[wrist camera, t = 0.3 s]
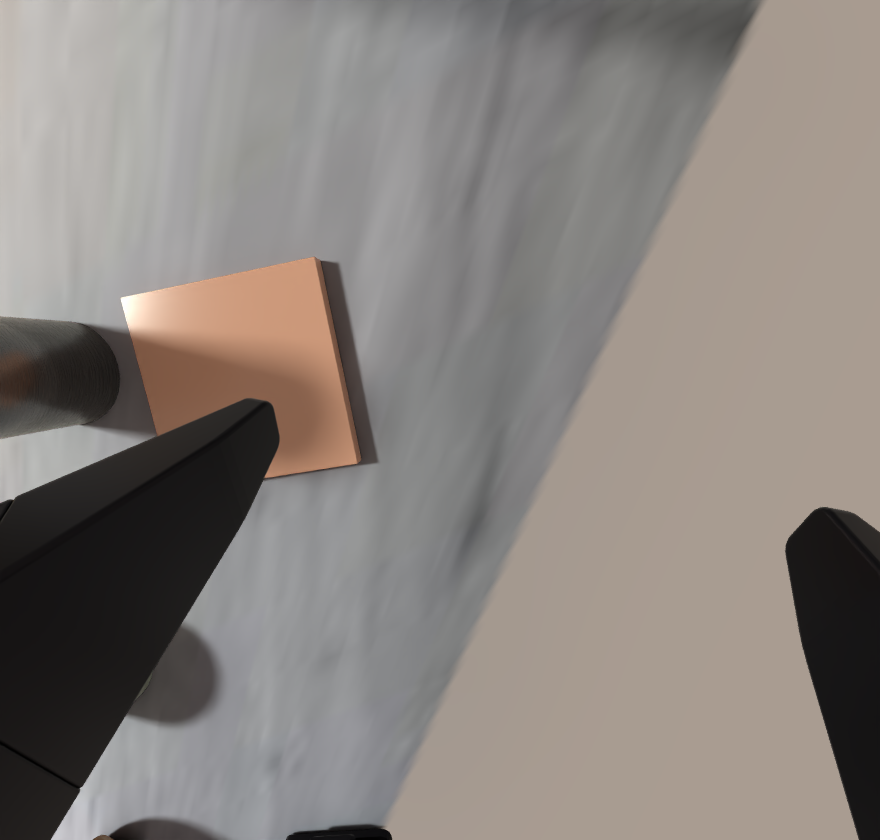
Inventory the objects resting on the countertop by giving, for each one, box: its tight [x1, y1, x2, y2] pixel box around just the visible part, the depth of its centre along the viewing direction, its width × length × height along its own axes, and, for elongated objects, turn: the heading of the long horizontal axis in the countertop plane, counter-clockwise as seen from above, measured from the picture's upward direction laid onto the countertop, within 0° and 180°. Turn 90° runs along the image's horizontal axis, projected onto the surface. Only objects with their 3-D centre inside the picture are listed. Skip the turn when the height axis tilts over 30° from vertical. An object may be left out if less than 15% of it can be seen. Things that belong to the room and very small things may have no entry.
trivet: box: [121, 257, 361, 478], centre depth 22 cm, size 10×10×1 cm
